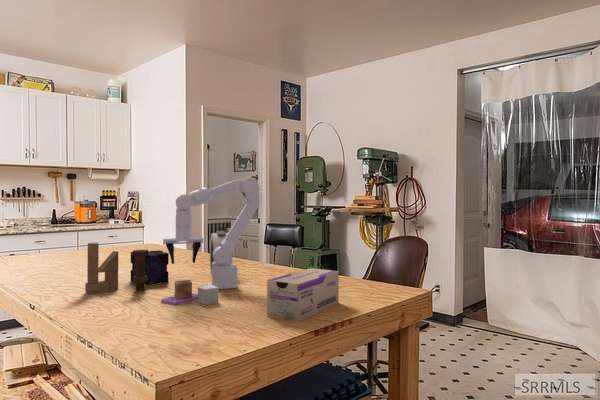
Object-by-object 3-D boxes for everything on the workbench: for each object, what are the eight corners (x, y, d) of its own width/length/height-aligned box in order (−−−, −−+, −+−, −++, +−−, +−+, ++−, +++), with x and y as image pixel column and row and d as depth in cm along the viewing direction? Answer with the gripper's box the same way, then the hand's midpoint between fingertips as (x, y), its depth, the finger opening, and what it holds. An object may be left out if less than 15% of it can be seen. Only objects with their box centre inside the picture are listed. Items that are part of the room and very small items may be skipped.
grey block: (211, 299, 141) (211, 285, 141) (218, 302, 137) (218, 287, 137) (197, 301, 138) (197, 286, 138) (204, 305, 134) (204, 289, 134)
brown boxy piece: (189, 294, 144) (189, 279, 143) (192, 297, 139) (192, 282, 139) (174, 295, 142) (174, 281, 141) (176, 299, 137) (176, 283, 137)
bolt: (142, 292, 150) (142, 251, 150) (129, 292, 151) (129, 251, 151) (150, 289, 156) (151, 249, 156) (138, 288, 157) (138, 249, 157)
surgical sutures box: (310, 299, 142) (310, 268, 142) (338, 303, 137) (338, 271, 137) (267, 316, 121) (267, 280, 121) (297, 322, 115) (298, 284, 115)
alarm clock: (209, 271, 194) (209, 229, 194) (225, 271, 196) (226, 229, 196) (214, 280, 174) (214, 233, 174) (232, 279, 176) (232, 232, 176)
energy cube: (168, 282, 169) (168, 253, 169) (137, 286, 162) (137, 255, 162) (160, 278, 179) (160, 250, 179) (130, 281, 172) (130, 252, 172)
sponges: (161, 304, 137) (161, 299, 137) (190, 297, 147) (190, 292, 147) (175, 307, 133) (175, 301, 133) (204, 299, 143) (204, 294, 143)
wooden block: (118, 289, 156) (118, 241, 156) (90, 294, 147) (90, 243, 147) (113, 288, 158) (113, 240, 158) (84, 293, 150) (85, 243, 150)
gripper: (164, 227, 150) (164, 265, 150) (204, 227, 156) (204, 263, 156) (162, 226, 156) (162, 262, 156) (201, 225, 162) (201, 260, 162)
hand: (183, 262), depth 156 cm, fingers open, 7 cm apart
